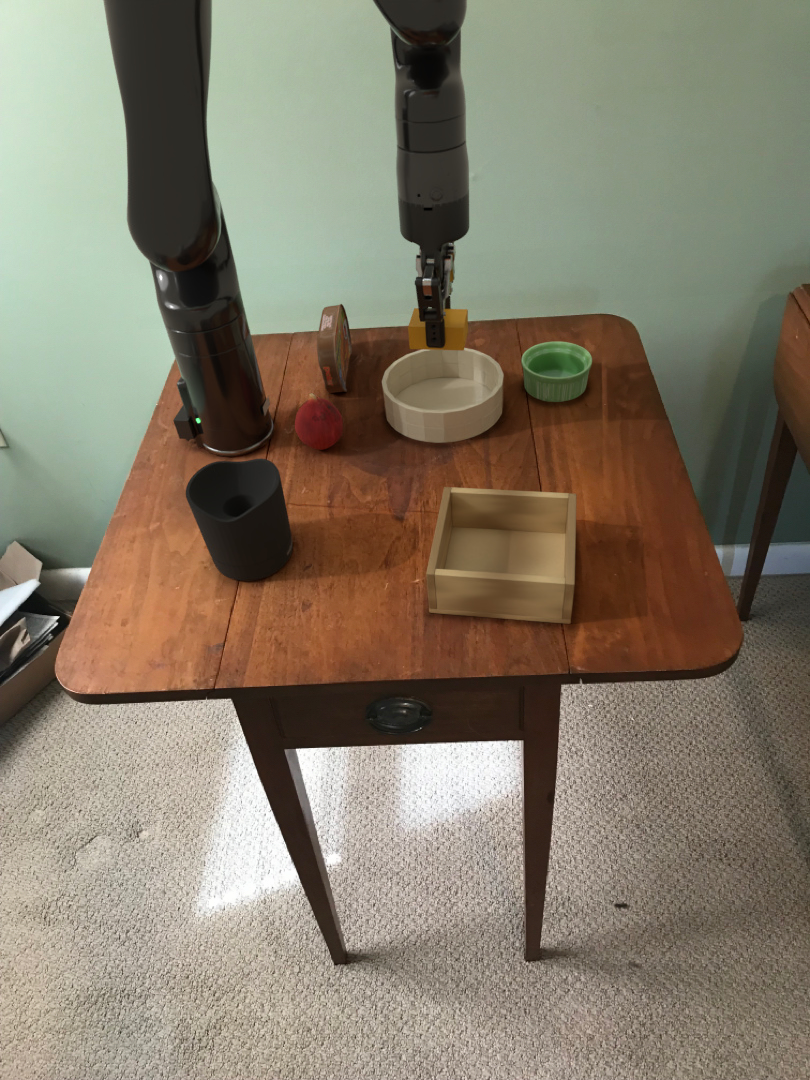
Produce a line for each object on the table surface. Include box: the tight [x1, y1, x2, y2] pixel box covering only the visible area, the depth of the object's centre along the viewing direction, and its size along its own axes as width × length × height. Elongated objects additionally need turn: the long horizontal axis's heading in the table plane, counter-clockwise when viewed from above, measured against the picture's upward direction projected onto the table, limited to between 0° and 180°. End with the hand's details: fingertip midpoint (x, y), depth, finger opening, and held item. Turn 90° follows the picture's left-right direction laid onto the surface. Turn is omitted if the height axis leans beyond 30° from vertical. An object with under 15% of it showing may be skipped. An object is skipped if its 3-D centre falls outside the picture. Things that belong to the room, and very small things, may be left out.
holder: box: [425, 486, 578, 625], centre depth 77 cm, size 14×13×6 cm
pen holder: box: [185, 458, 294, 582], centre depth 80 cm, size 9×9×10 cm
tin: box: [316, 303, 353, 394], centre depth 106 cm, size 15×3×8 cm, turn 179°
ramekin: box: [520, 341, 593, 403], centre depth 100 cm, size 9×9×4 cm
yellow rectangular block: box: [407, 307, 469, 351], centre depth 92 cm, size 6×4×3 cm
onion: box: [294, 392, 344, 451], centre depth 93 cm, size 6×6×8 cm
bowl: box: [381, 347, 505, 444], centre depth 98 cm, size 15×15×5 cm
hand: (438, 335), depth 92 cm, fingers closed on yellow rectangular block, 4 cm apart
